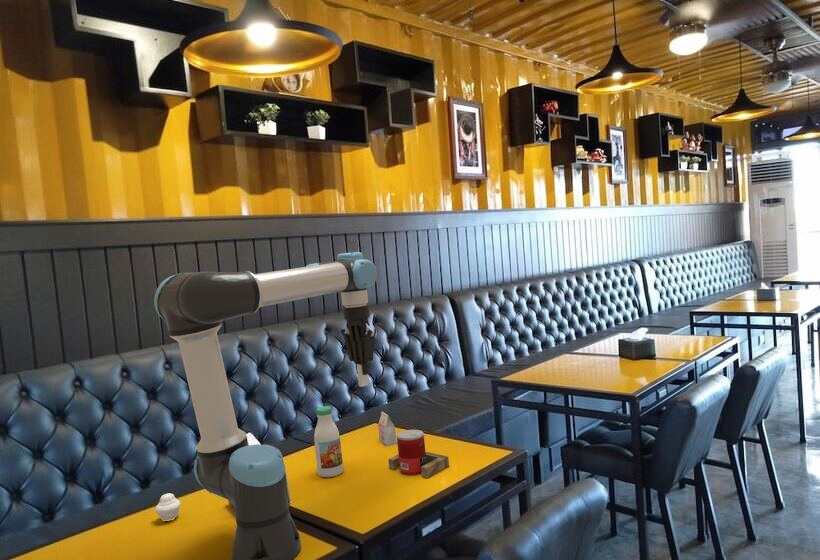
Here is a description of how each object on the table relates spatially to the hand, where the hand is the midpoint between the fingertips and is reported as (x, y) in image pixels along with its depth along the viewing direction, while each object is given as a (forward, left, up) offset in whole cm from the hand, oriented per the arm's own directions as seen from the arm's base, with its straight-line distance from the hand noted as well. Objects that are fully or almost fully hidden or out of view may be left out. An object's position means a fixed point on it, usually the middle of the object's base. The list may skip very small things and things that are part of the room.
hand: (364, 385), depth 172 cm
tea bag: (+22, +15, -27) cm, 38 cm away
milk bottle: (-6, +12, -27) cm, 30 cm away
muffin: (-49, +27, -27) cm, 62 cm away
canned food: (+8, -9, -27) cm, 29 cm away
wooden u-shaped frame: (+10, -9, -27) cm, 30 cm away
